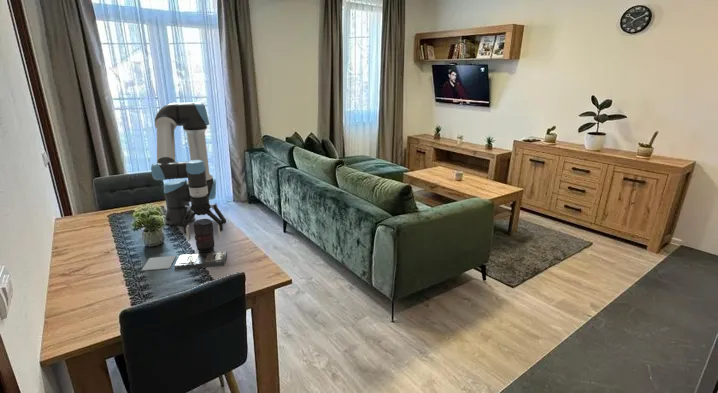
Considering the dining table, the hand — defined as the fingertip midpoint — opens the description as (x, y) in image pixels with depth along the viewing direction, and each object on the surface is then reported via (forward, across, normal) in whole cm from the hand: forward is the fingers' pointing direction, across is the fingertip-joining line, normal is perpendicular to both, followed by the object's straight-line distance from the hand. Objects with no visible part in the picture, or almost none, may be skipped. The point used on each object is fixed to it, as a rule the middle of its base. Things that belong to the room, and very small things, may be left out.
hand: (204, 238), depth 172 cm
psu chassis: (+7, 0, -11) cm, 13 cm away
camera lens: (+7, 0, 0) cm, 7 cm away
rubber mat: (+7, -18, -9) cm, 21 cm away
